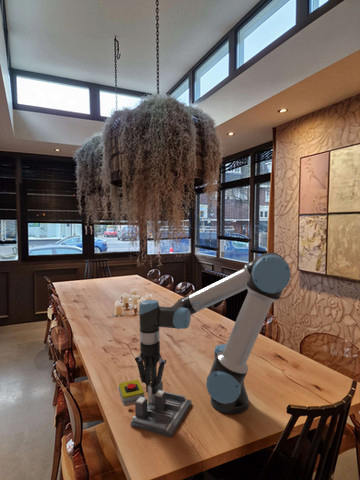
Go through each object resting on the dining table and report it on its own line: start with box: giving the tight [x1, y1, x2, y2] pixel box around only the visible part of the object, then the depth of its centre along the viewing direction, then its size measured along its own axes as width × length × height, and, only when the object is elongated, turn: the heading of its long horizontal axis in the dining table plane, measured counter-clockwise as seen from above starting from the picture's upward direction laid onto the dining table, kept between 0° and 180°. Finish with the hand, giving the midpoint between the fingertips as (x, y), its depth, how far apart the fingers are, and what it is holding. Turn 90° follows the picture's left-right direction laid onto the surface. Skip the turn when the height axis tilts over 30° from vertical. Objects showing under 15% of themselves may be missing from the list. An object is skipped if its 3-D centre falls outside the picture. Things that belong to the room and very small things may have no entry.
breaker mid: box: [155, 390, 167, 411], centre depth 110 cm, size 3×4×7 cm
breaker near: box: [134, 396, 148, 419], centre depth 105 cm, size 3×4×7 cm
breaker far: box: [155, 380, 164, 395], centre depth 117 cm, size 3×4×7 cm
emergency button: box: [117, 379, 146, 406], centre depth 124 cm, size 9×4×15 cm
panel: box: [130, 391, 193, 438], centre depth 109 cm, size 16×20×3 cm
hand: (151, 400), depth 111 cm, fingers closed
